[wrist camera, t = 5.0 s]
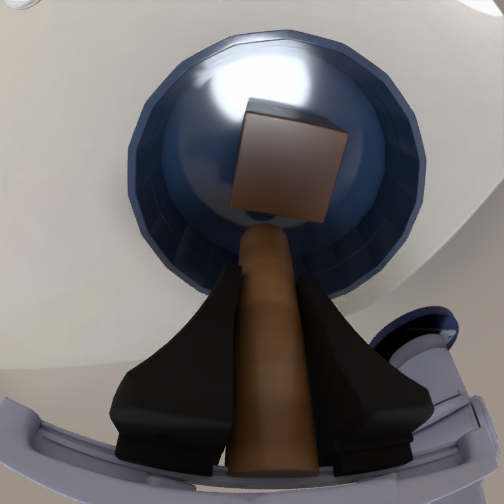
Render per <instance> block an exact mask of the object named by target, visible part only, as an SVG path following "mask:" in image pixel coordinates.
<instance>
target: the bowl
mask: <svg viewBox="0 0 504 504" xmlns="http://www.w3.org/2000/svg"><path fill="white" fill-rule="evenodd" d="M248 102H251V103H257V104H263V105H269V106H274V107H280V108H285V109H290V110H294V111H299V112H303V113H308V114H312V115H316V116H320V117H325V118H327V119H328V120H330V121H331V122H333V123H334V124H336V125H337V126H339V127H340V128H342V129H343V130H345V131H346V132H348V133H349V138H348V142H347V145H346V149H345V153H344V156H343V160H342V163H341V167H340V170H339V174H338V177H337V180H336V184H335V187H334V191H333V194H332V197H331V200H330V204H329V207H328V210H327V213H326V217H325V220H324V222H323V223H319V222H314V221H308V220H302V219H297V218H291V217H285V216H279V215H273V214H267V213H260V212H254V211H248V210H241V209H235V208H230V199H231V192H232V186H233V179H234V173H235V167H236V160H237V154H238V148H239V142H240V136H241V130H242V124H243V119H244V113H245V109H246V106H247V103H248ZM425 174H426V155H425V151H424V146H423V142H422V138H421V134H420V130H419V127H418V123H417V119H416V116H415V114H414V112H413V111H412V109H411V108H410V106H409V105H408V103H407V102H406V100H405V99H404V97H403V96H402V94H401V93H400V91H399V90H398V88H397V87H396V85H395V84H394V83H393V81H392V80H391V78H390V77H389V76H388V75H387V74H386V73H385V72H384V71H382V70H381V69H380V68H378V67H377V66H376V65H374V64H373V63H372V62H370V61H369V60H367V59H366V58H365V57H363V56H362V55H360V54H359V53H357V52H356V51H354V50H353V49H351V48H350V47H348V46H347V45H345V44H343V43H340V42H337V41H333V40H330V39H326V38H323V37H319V36H315V35H311V34H307V33H303V32H298V31H294V30H276V31H265V32H256V33H248V34H241V35H234V36H232V37H228V38H226V39H224V40H222V41H220V42H218V43H216V44H214V45H212V46H210V47H208V48H206V49H204V50H202V51H200V52H198V53H197V54H195V55H193V56H191V57H189V58H187V59H186V60H184V61H182V63H180V64H179V65H178V66H177V67H176V68H175V69H174V70H173V71H172V72H171V73H170V74H169V76H168V77H167V78H166V79H165V80H164V81H163V82H162V83H161V85H160V86H159V87H158V88H157V89H156V90H155V91H154V93H153V94H152V95H151V96H150V97H149V99H148V100H147V101H146V103H145V105H144V107H143V110H142V112H141V115H140V117H139V120H138V122H137V125H136V128H135V130H134V133H133V136H132V139H131V141H130V144H129V147H128V197H129V200H130V203H131V206H132V209H133V212H134V215H135V217H136V220H137V223H138V226H139V229H140V232H141V234H142V236H143V237H144V239H145V240H146V241H147V243H148V244H149V245H150V247H151V248H152V249H153V251H154V252H155V253H156V255H157V256H158V257H159V259H160V260H161V261H162V263H163V264H164V265H165V266H166V267H167V268H168V269H169V270H170V271H172V272H173V273H174V274H176V275H177V276H178V277H180V278H181V279H182V280H184V281H185V282H186V283H188V284H189V285H190V286H192V287H193V288H194V289H196V290H197V291H199V292H201V293H204V294H206V295H209V294H210V293H211V291H212V289H213V288H214V286H215V284H216V283H217V281H218V279H219V277H220V275H221V272H222V270H223V266H224V265H225V264H233V265H238V263H239V250H240V240H241V237H242V235H243V233H244V232H245V231H246V230H247V229H248V228H250V227H251V226H253V225H256V224H260V223H269V224H273V225H276V226H278V227H279V228H281V229H282V230H283V231H284V232H285V234H286V235H287V238H288V242H289V248H290V254H291V260H292V266H293V272H294V278H295V284H296V283H297V280H298V277H299V274H305V275H312V276H314V277H315V278H316V279H317V281H318V282H319V284H320V285H321V287H322V288H323V289H324V291H325V292H326V294H327V295H328V297H329V298H330V299H334V298H336V297H339V296H342V295H344V294H347V293H349V292H351V291H352V290H354V289H355V288H357V287H358V286H360V285H361V284H363V283H364V282H365V281H367V280H368V279H370V278H371V277H373V276H374V275H375V274H377V273H378V272H380V271H381V270H382V269H383V268H384V267H385V265H386V264H387V263H388V262H389V261H390V259H391V258H392V257H393V256H394V255H395V253H396V252H397V251H398V250H399V249H400V247H401V246H402V245H403V244H404V242H405V241H406V239H407V238H408V236H409V234H410V231H411V229H412V227H413V224H414V222H415V220H416V217H417V215H418V213H419V210H420V208H421V205H422V202H423V196H424V186H425Z"/></svg>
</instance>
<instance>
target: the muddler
mask: <svg viewBox="0 0 504 504" xmlns="http://www.w3.org/2000/svg"><path fill="white" fill-rule="evenodd" d="M238 265H240V266H242V280H241V286H240V291H239V296H238V301H237V306H236V311H235V317H234V336H233V405H234V406H233V424H232V428H231V431H230V434H229V437H228V440H227V443H226V450H225V466H227V467H228V471H227V473H226V475H227V476H232V477H249V478H300V477H317V476H319V462H318V452H317V442H316V432H315V423H314V414H313V406H312V397H311V389H310V381H309V373H308V366H307V358H306V351H305V344H304V337H303V330H302V323H301V316H300V310H299V303H298V297H297V290H296V284H295V278H294V272H293V266H292V260H291V254H290V248H289V242H288V238H287V235H286V234H285V232H284V231H283V230H282V229H281V228H279V227H278V226H276V225H273V224H269V223H260V224H256V225H253V226H251V227H250V228H248V229H247V230H246V231H245V232H244V233H243V235H242V237H241V240H240V250H239V263H238Z"/></svg>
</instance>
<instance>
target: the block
mask: <svg viewBox="0 0 504 504" xmlns="http://www.w3.org/2000/svg"><path fill="white" fill-rule="evenodd" d="M348 138H349V133H348V132H346V131H345V130H343V129H342V128H340V127H339V126H337V125H336V124H334V123H333V122H331V121H330V120H328V119H327V118H325V117H320V116H316V115H312V114H308V113H303V112H299V111H294V110H290V109H285V108H280V107H274V106H269V105H263V104H257V103H251V102H248V103H247V106H246V109H245V113H244V119H243V124H242V130H241V136H240V142H239V148H238V154H237V160H236V167H235V173H234V179H233V186H232V192H231V199H230V208H235V209H241V210H248V211H254V212H260V213H267V214H273V215H279V216H285V217H291V218H297V219H302V220H308V221H314V222H319V223H323V222H324V220H325V217H326V213H327V210H328V207H329V204H330V200H331V197H332V194H333V191H334V187H335V184H336V180H337V177H338V174H339V170H340V167H341V163H342V160H343V156H344V153H345V149H346V145H347V142H348Z"/></svg>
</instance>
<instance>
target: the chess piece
mask: <svg viewBox="0 0 504 504" xmlns="http://www.w3.org/2000/svg"><path fill="white" fill-rule="evenodd" d="M38 1H39V0H5V2H6V4H7V5H8V6H9V7H12V8H15V9H26V8H28V7H30V6H32V5H34V4H35V3H37V2H38Z"/></svg>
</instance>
